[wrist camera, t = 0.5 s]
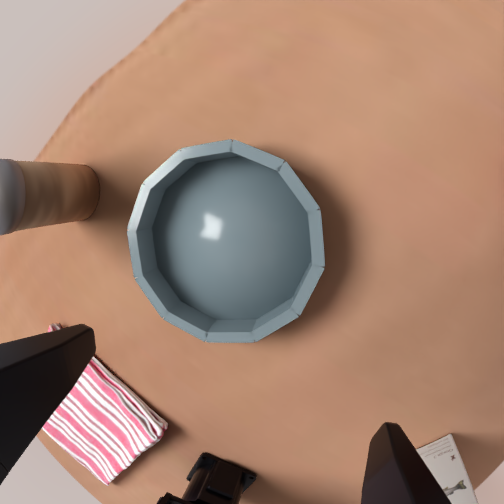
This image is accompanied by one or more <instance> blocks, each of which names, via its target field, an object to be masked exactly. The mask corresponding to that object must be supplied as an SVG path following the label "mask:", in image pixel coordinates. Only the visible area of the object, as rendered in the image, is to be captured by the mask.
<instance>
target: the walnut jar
mask: <svg viewBox="0 0 504 504" xmlns="http://www.w3.org/2000/svg"><path fill="white" fill-rule="evenodd" d="M99 195H100V187H99V181H98V178H97V176H96V174H95V172H94V171H93V170H92V169H91V168H90V167H88V166H86V165H78V164H64V163H49V162H30V161H14V160H11V159H0V235H4V234H9V233H12V232H14V231H18V230H24V229H30V228H36V227H42V226H48V225H54V224H61V223H67V222H74V221H81V220H85V219H87V218H88V217H90V216H91V215H92V214H93V212H94V211H95V209H96V207H97V204H98V201H99Z"/></svg>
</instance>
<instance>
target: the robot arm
mask: <svg viewBox="0 0 504 504" xmlns="http://www.w3.org/2000/svg"><path fill="white" fill-rule="evenodd" d="M95 351H96V345H95V336H94V331H93V329H92V328H91V327H89V326H87V325H85V324H79V325H75V326H71V327H67V328H63V329H59V330H55V331H51V332H47V333H43V334H39V335H35V336H31V337H27V338H23V339H19V340H15V341H11V342H7V343H2V344H0V485H1V483H2V482H3V480H4V479H5V478H6V476H7V475H8V473H9V472H10V470H11V469H12V467H13V466H14V465H15V463H16V462H17V461H18V459H19V458H20V456H21V455H22V454H23V452H24V451H25V449H26V448H27V447H28V446H29V444H30V443H31V441H32V440H33V439H34V438H35V436H36V435H37V434H38V432H39V431H40V430H41V428H42V427H43V426H44V424H45V423H46V422H47V421H48V419H49V418H50V417H51V415H52V414H53V413H54V412H55V410H56V409H57V408H58V406H59V405H60V404H61V403H62V401H63V400H64V399H65V398H66V396H67V395H68V394H69V392H70V391H71V390H72V389H73V387H74V386H75V384H76V383H77V381H78V379H79V378H80V376H81V375H82V373H83V371H84V370H85V368H86V367H87V365H88V364H89V362H90V361H91V359H92V358H93V356H94V354H95ZM256 477H257V475H256V474H254V473H252V472H249V471H247V470H244V469H242V468H239V467H237V466H234V465H232V464H230V463H227V462H225V461H223V460H220V459H218V458H216V457H214V456H211V455H209V454H207V453H202V454H201V455H200V457H199V458H198V460H197V462H196V463H195V465H194V467H193V468H192V470H191V471H190V473H189V475H188V476H187V480H188V481H190V483H189V485H188V487H187V489H186V491H185V493H184V495H183V497H182V499H181V498H178V497H176V496H173V495H172V494H170V493H168V492H167V493H166V494H165V496H164V497H163V496H162V497H160V499H159V500H158V502H157V504H239V501H240V498H241V494H242V493H243V492H244V491H245V490H246V489H247V488H248V487H249V486H250V485H251V484H252V483H253V482H254V481H255V480H256ZM361 504H452V503H451V502H450V500H449V498H448V497H447V495H446V494H445V492H444V491H443V489H442V488H441V486H440V485H439V483H438V482H437V480H436V479H435V477H434V476H433V474H432V473H431V471H430V470H429V468H428V467H427V465H426V464H425V462H424V461H423V459H422V458H421V456H420V455H419V454H418V452H417V451H416V449H415V448H414V446H413V445H412V443H411V442H410V440H409V439H408V437H407V436H406V434H405V433H404V431H403V430H402V429H401V427H400V426H399V425H398V424H397V423H390V422H385V423H384V424H383V425H382V426H381V427H380V428H379V430H378V431H377V432H376V434H375V435H374V436H373V438H372V439H371V442H370V446H369V452H368V459H367V465H366V471H365V476H364V482H363V488H362V499H361Z"/></svg>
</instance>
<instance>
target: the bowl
mask: <svg viewBox="0 0 504 504" xmlns="http://www.w3.org/2000/svg"><path fill="white" fill-rule="evenodd" d="M127 229H128V231H127V235H128V242H129V249H130V256H131V262H132V268H133V274H134V278H135V277H137V278H136V279H135V280H136V282H137V283H138V285H139V286H140V288H141V289H142V291H143V292H144V293H145V295H146V296H147V298H148V299H149V301H150V302H151V303H152V305H153V306H154V308H155V309H156V311H157V312H158V313H159V315H160V316H161V317H162V318H163V317H164V320H165V321H167V322H169V323H171V324H173V325H174V326H176V327H178V328H180V329H182V330H184V331H185V332H187V333H189V334H191V335H193V336H195V337H197V338H198V339H200V340H202V341H204V342H205V341H206V342H220V343H250V342H255V341H256V342H257V341H259V340H260V339H262V338H264V337H266V336H267V335H269V334H271V333H273V332H274V331H276V330H278V329H279V328H281V327H283V326H284V325H286V324H288V323H289V322H291V321H293V320H294V319H296V318H298V317H299V315H301V313H302V311H303V309H304V307H305V305H306V303H307V302H308V300H309V298H310V296H311V294H312V292H313V290H314V288H315V286H316V284H317V282H318V280H319V278H320V276H321V275H322V273H323V271H324V269H325V268H324V266H325V258H324V244H323V231H322V219H321V210H320V207H319V206H318V204H317V203H316V202H315V200H314V199H313V197H312V196H311V194H310V193H309V192H308V190H307V189H306V187H305V186H304V185H303V183H302V182H301V181H300V179H299V178H298V177H297V175H296V174H295V172H294V171H293V170H292V168H291V167H290V166H289V164H288V163H287V162H286V161H285V160H283V159H281V158H279V157H276V156H274V155H271V154H269V153H267V152H264V151H262V150H259V149H257V148H254V147H252V146H249V145H247V144H244V143H242V142H239V141H237V140H232V139H230V140H224V141H218V142H212V143H206V144H201V145H196V146H191V147H186V148H181V150H180V149H179V150H178V151H177V152H176V153H175V154H173V155H172V156H171V157H170V158H169V159H168V160H167V161H165V162H164V163H163V164H162V165H161V166H160V167H159V168H158V169H157V170H155V171H154V172H153V173H152V174H151V175H150V176H149V177H148V178H147V179H146V180H145V181H144V184H142V185H141V188H140V191H139V194H138V197H137V200H136V203H135V206H134V209H133V212H132V215H131V218H130V221H129V224H128V227H127Z"/></svg>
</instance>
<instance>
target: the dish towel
mask: <svg viewBox="0 0 504 504" xmlns="http://www.w3.org/2000/svg"><path fill="white" fill-rule="evenodd" d="M59 329H62V328H61V326H60V324H58V323H55V324H51V325H50V326H49V329H48V332H51V331H55V330H59ZM167 428H168V423H167V422H166V421H165V420H164V419H162V418H161V417H160V416H159V415H157V414H156V413H155V412H154V411H153V410H151V409H150V408H149V407H148V406H147V405H146V404H145V403H144V402H143V401H142V400H141V399H140V398H139V397H138V396H137V395H136V394H135V393H134V392H133V391H132V390H131V389H129V388H128V387H127V386H126V385H125V384H124V383H123V382H121V381H120V380H119V379H118V378H116V377H115V376H114V375H113V374H112V373H110V372H109V371H108V370H107V369H106V368H105V367H104V366H103V365H102V364H101V363H100V362H99V361H98V360H97V359H96V358H95V357H94V356H93V358H92V359H91V361H90V362H89V364H88V365H87V367H86V368H85V370H84V371H83V373H82V375H81V376H80V378H79V379H78V381H77V383H76V384H75V386H74V387H73V389H72V390H71V391H70V392H69V394H68V395H67V396H66V398H65V399H64V400H63V401H62V403H61V404H60V405H59V406H58V408H57V409H56V410H55V412H54V413H53V414H52V415H51V417H50V418H49V419H48V421H47V422H46V423H45V424H44V426H43V427H42V429H43V430H44V431H45V432H46V433H47V434H48V435H49V436H50V437H51V438H52V439H53V440H54V441H55V442H56V443H58V444H59V445H60V446H61V447H62V448H63V449H64V450H65V451H66V452H68V453H69V454H70V455H71V456H73V457H74V458H75V459H76V460H77V461H78V462H79V463H81V464H82V465H83V466H85V467H86V468H87V469H88V470H89V471H90V472H91V473H92V474H93V475H95V477H96V478H98V479H99V480H100V481H101V482H102V483H104V484H105V485H107V486H109V483H110V482H111V481H112V480H114V479H115V477H116V476H118V474H120V473H121V471H123V470H124V469H126V468H128V466H130V465H131V464H132V462H133V461H134V460H136V458H137V457H138V456H140V455H141V453H142V452H144V451H146V450H147V449H149V448H150V447H152V446H153V445H155V444H156V443H157V442H158V441H160V439H161V437H162V436H163V435H164V434H163V432H164V431H165V430H166V429H167Z"/></svg>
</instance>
